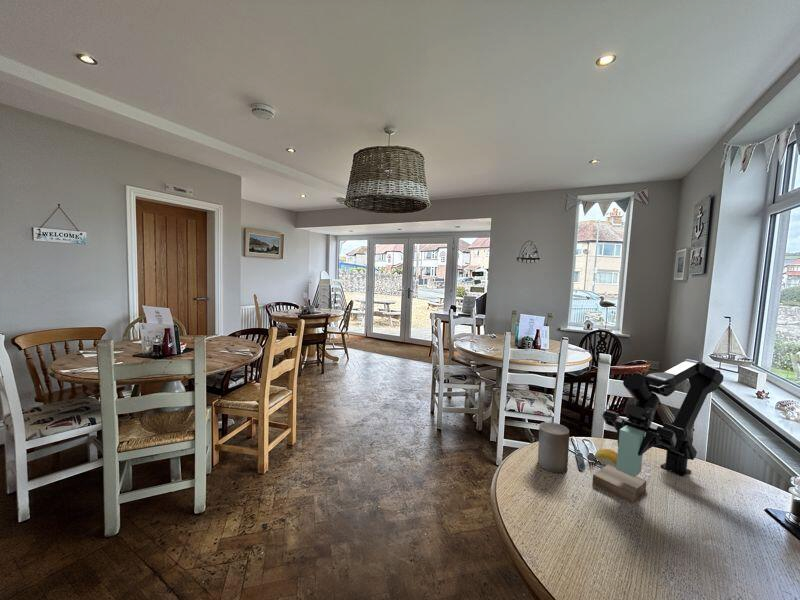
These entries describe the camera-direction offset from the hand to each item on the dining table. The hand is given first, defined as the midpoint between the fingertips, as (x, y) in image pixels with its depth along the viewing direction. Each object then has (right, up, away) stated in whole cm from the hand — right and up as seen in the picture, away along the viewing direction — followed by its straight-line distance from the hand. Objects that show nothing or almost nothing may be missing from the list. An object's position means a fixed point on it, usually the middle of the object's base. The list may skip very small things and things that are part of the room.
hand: (628, 451), depth 102 cm
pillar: (+1, -7, +1) cm, 7 cm away
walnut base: (0, -13, +4) cm, 14 cm away
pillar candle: (-17, -12, +15) cm, 26 cm away
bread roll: (+6, -13, +19) cm, 24 cm away
